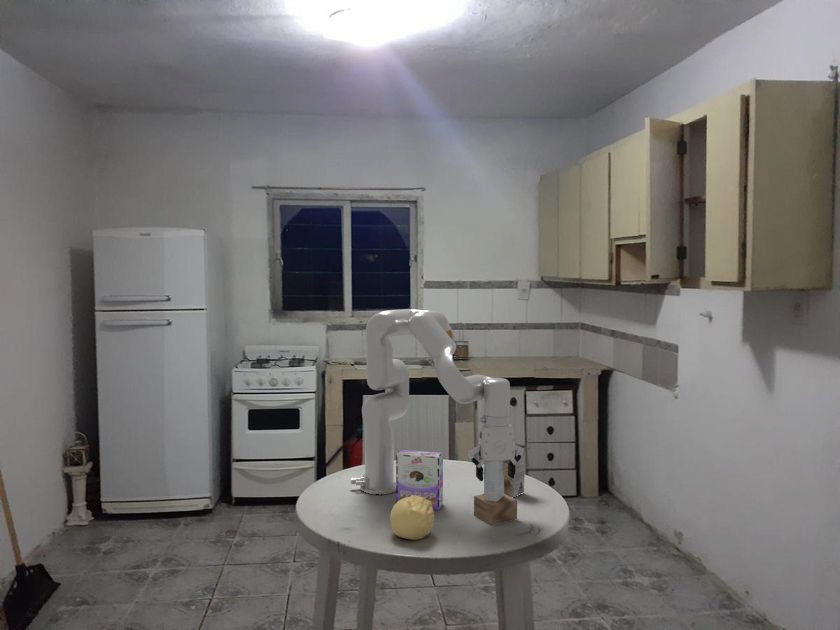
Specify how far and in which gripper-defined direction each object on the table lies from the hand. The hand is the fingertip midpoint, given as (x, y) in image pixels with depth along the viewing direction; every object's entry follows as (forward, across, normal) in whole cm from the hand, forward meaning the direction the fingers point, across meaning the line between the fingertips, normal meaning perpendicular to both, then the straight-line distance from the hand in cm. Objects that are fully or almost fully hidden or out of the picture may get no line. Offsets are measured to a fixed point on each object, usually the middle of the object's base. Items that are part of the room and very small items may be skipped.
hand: (495, 478), depth 191 cm
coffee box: (+12, +12, +19) cm, 25 cm away
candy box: (+12, -19, +15) cm, 27 cm away
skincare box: (+6, 0, 0) cm, 6 cm away
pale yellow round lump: (+12, -27, -7) cm, 30 cm away
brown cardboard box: (+12, 0, 0) cm, 12 cm away
